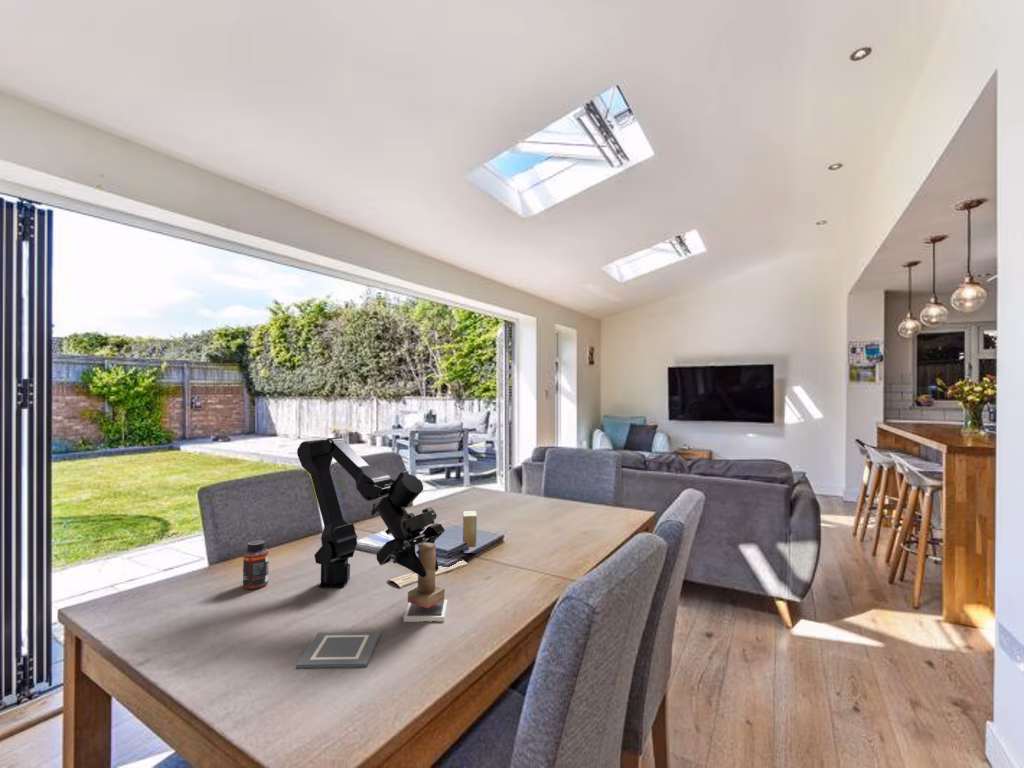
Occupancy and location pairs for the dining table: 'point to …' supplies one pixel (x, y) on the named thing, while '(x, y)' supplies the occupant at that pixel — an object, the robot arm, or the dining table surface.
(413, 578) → the newspaper
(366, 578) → the dining table surface
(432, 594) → the stamp
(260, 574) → the supplement bottle
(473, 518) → the skincare box
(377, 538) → the dish towel
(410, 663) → the dining table surface
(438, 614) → the ink pad
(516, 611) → the dining table surface
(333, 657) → the form board
